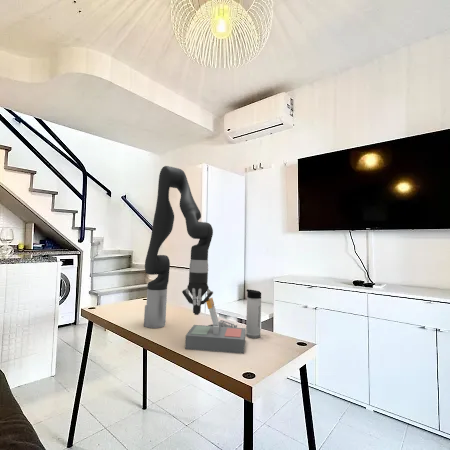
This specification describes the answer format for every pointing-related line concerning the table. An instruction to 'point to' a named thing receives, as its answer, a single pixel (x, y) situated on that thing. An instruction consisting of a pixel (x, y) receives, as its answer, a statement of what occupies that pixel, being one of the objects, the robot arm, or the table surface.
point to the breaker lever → (212, 312)
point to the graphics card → (223, 324)
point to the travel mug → (253, 314)
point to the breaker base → (216, 338)
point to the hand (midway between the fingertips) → (196, 314)
